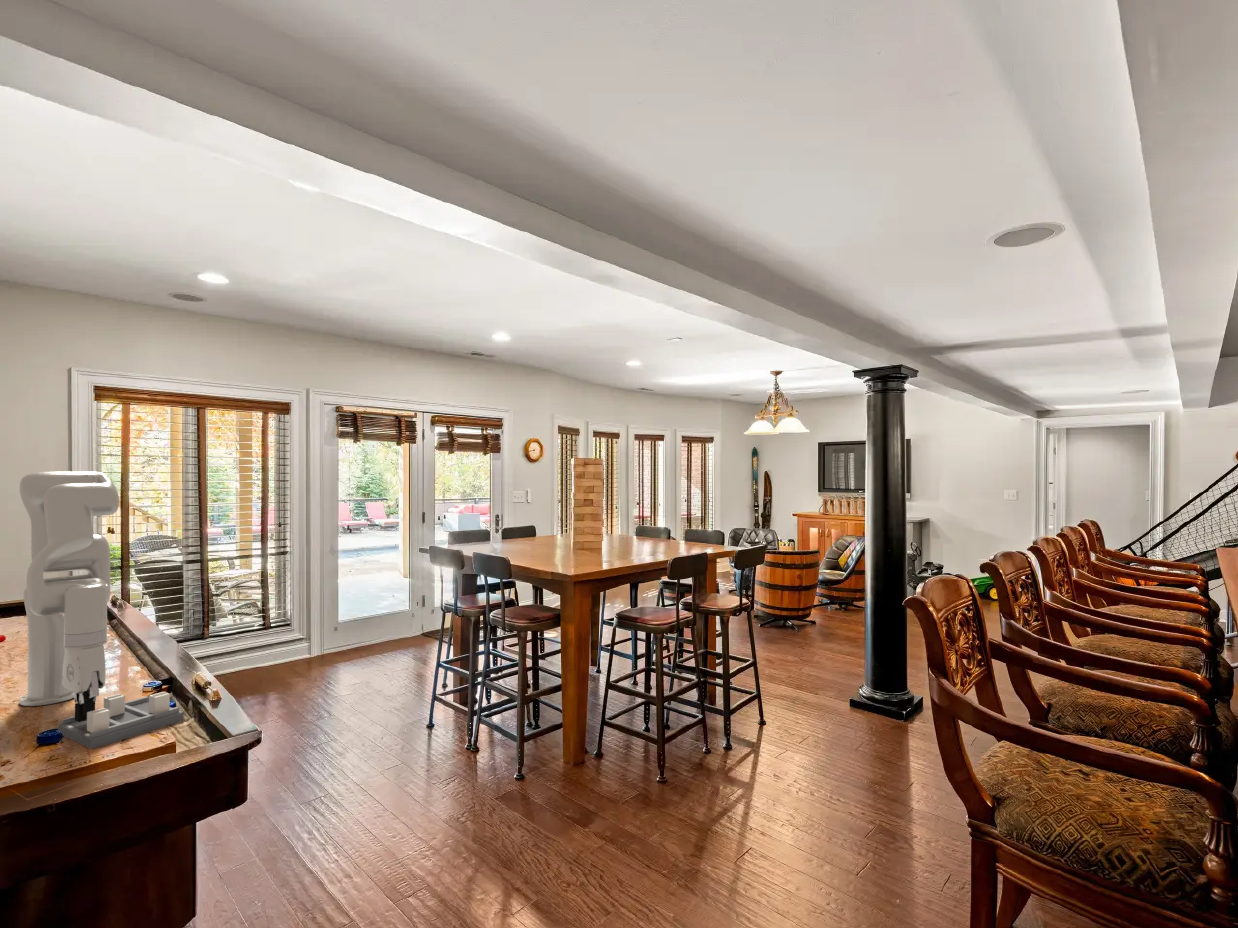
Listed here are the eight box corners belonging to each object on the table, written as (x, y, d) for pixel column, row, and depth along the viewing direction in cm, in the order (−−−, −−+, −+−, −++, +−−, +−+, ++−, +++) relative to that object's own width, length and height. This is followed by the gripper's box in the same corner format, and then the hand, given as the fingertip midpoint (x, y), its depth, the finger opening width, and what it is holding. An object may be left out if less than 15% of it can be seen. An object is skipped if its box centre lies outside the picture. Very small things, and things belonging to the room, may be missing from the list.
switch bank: (57, 732, 144) (57, 719, 144) (148, 707, 159) (148, 695, 159) (91, 749, 135) (91, 734, 135) (183, 720, 151) (183, 707, 151)
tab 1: (86, 730, 140) (87, 710, 140) (103, 725, 142) (103, 706, 142) (93, 733, 138) (93, 713, 138) (109, 728, 141) (109, 708, 141)
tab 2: (103, 714, 149) (103, 696, 149) (118, 710, 151) (118, 692, 151) (109, 717, 147) (109, 698, 147) (124, 712, 150) (124, 694, 150)
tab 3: (148, 712, 150) (149, 694, 150) (163, 708, 153) (163, 690, 153) (155, 714, 148) (155, 696, 149) (169, 710, 151) (169, 692, 151)
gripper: (50, 637, 144) (50, 718, 144) (79, 647, 137) (79, 732, 137) (91, 630, 151) (90, 707, 150) (120, 639, 143) (120, 720, 143)
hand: (85, 719), depth 143 cm, fingers closed
